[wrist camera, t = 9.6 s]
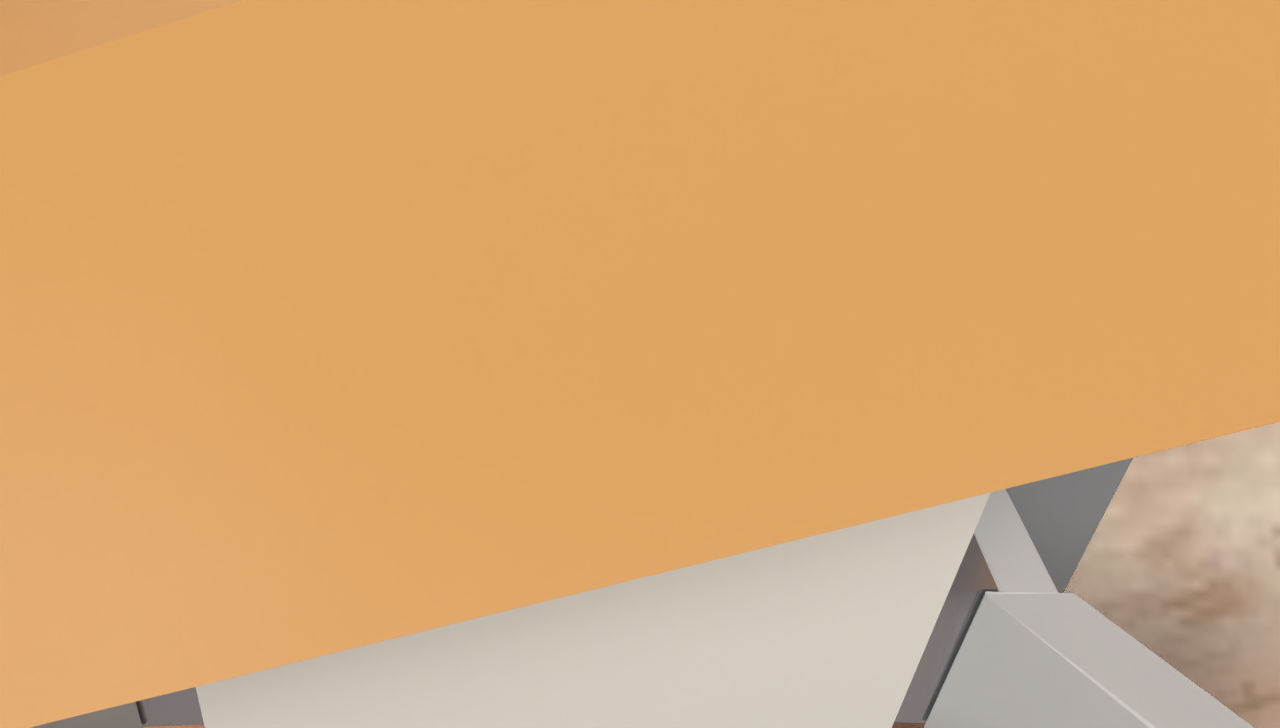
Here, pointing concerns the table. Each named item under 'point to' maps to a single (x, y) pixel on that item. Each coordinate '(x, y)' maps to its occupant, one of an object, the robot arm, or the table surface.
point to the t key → (582, 296)
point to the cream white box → (655, 647)
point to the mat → (1066, 514)
